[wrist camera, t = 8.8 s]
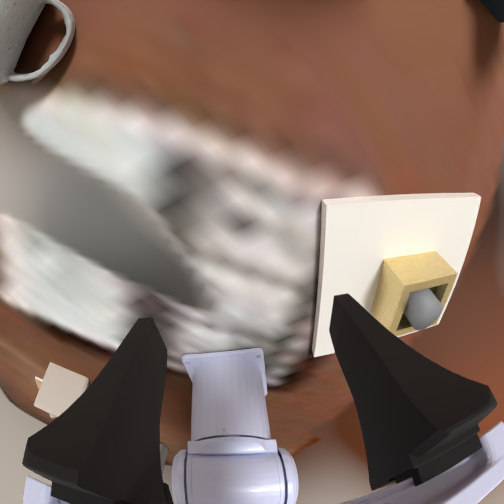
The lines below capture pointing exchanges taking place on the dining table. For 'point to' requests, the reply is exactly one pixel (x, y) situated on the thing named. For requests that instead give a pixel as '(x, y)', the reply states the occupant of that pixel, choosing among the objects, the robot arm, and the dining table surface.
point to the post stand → (387, 249)
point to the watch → (495, 8)
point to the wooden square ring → (409, 287)
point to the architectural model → (59, 389)
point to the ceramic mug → (17, 31)
